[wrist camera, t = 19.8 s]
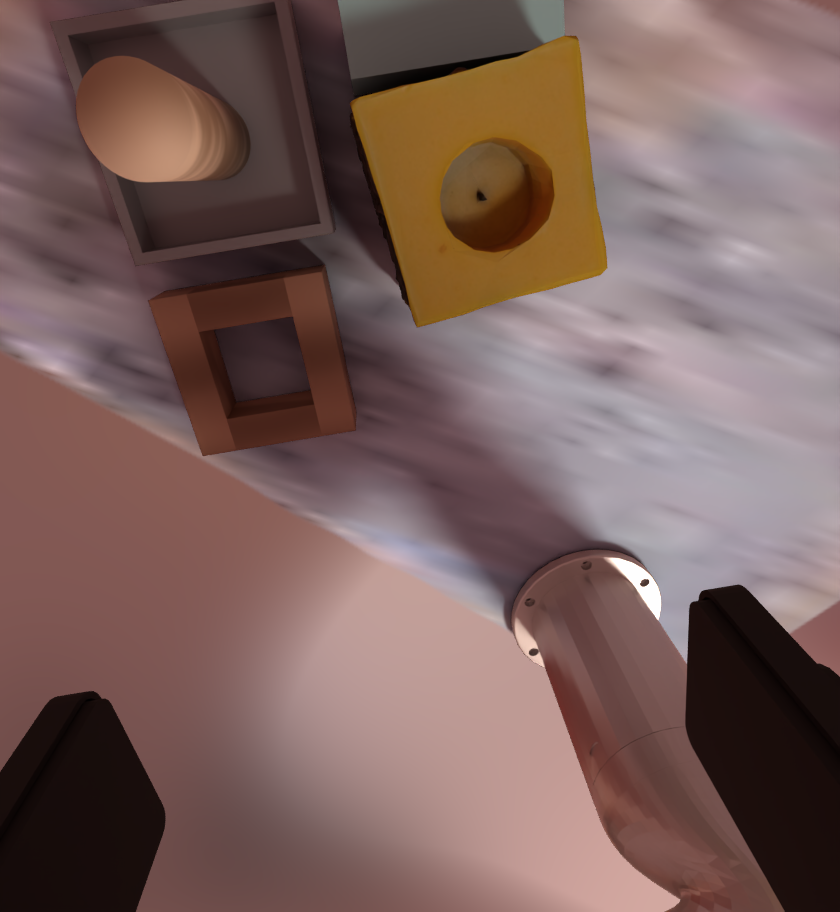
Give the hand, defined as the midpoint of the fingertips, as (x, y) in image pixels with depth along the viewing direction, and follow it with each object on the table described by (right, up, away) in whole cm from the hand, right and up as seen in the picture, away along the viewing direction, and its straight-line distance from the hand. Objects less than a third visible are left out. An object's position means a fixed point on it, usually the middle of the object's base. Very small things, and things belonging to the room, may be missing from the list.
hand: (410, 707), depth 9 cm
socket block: (-10, +11, +29) cm, 32 cm away
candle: (+2, +20, +25) cm, 33 cm away
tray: (-11, +22, +23) cm, 34 cm away
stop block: (+1, +26, +22) cm, 34 cm away
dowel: (-11, +21, +23) cm, 33 cm away
